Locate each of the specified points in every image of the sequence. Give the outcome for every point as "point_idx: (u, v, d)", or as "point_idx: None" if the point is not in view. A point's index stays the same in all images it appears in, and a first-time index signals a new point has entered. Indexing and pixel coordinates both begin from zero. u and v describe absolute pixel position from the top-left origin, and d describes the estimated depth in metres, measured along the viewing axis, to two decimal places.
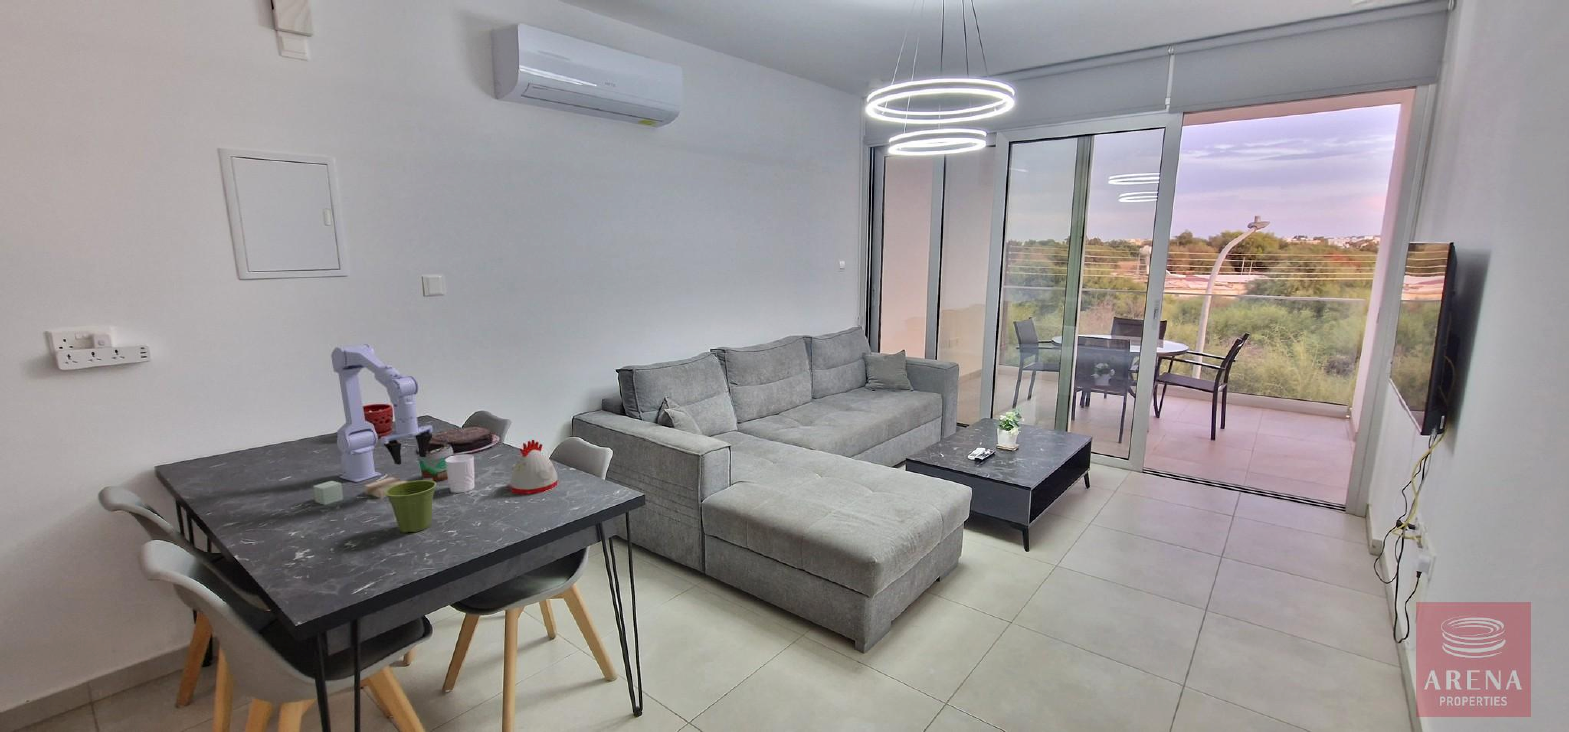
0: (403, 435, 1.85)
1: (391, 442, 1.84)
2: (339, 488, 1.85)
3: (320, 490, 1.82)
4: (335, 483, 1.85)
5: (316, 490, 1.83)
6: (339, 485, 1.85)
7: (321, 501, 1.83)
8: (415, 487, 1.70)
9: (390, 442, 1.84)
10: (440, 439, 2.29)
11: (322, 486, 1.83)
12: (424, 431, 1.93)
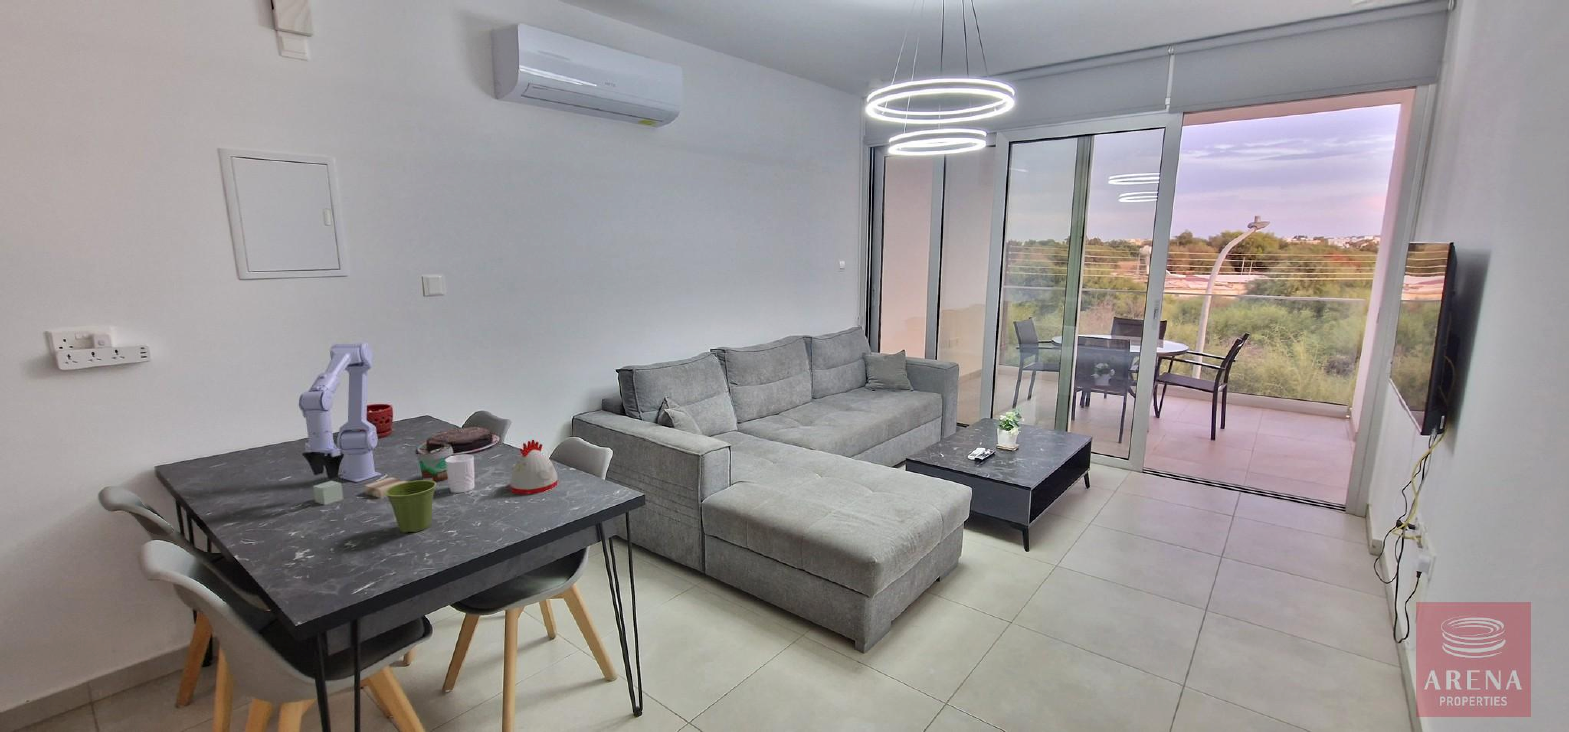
0: (308, 448, 1.81)
1: None
2: (339, 488, 1.85)
3: (320, 490, 1.82)
4: (335, 483, 1.85)
5: (316, 490, 1.83)
6: (339, 485, 1.85)
7: (321, 501, 1.83)
8: (415, 487, 1.70)
9: None
10: (440, 439, 2.29)
11: (322, 486, 1.83)
12: (331, 453, 1.80)
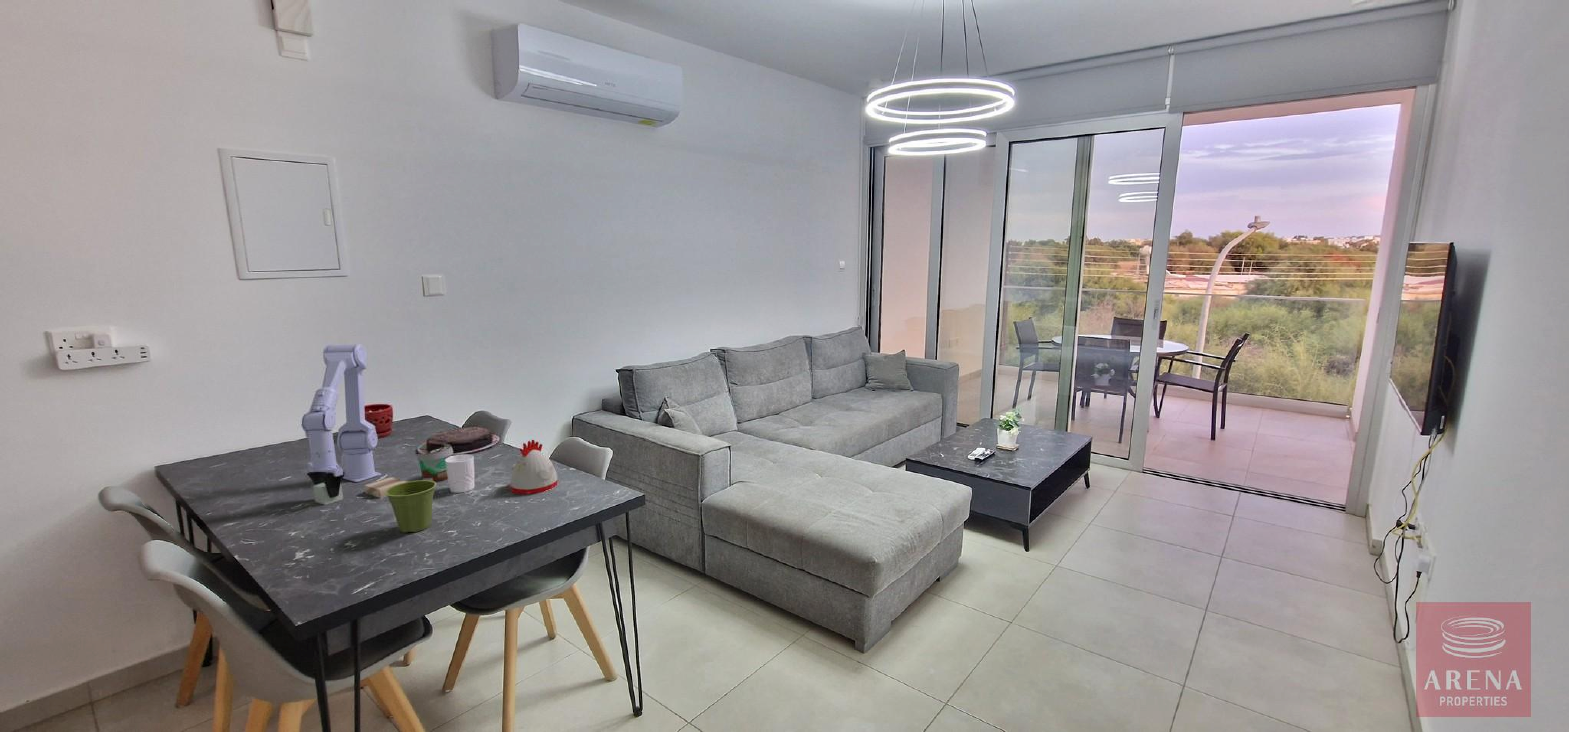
0: (311, 467, 1.83)
1: None
2: None
3: (320, 490, 1.82)
4: None
5: (316, 490, 1.83)
6: None
7: (321, 501, 1.83)
8: (415, 487, 1.70)
9: None
10: (440, 439, 2.29)
11: (322, 486, 1.83)
12: (334, 472, 1.81)
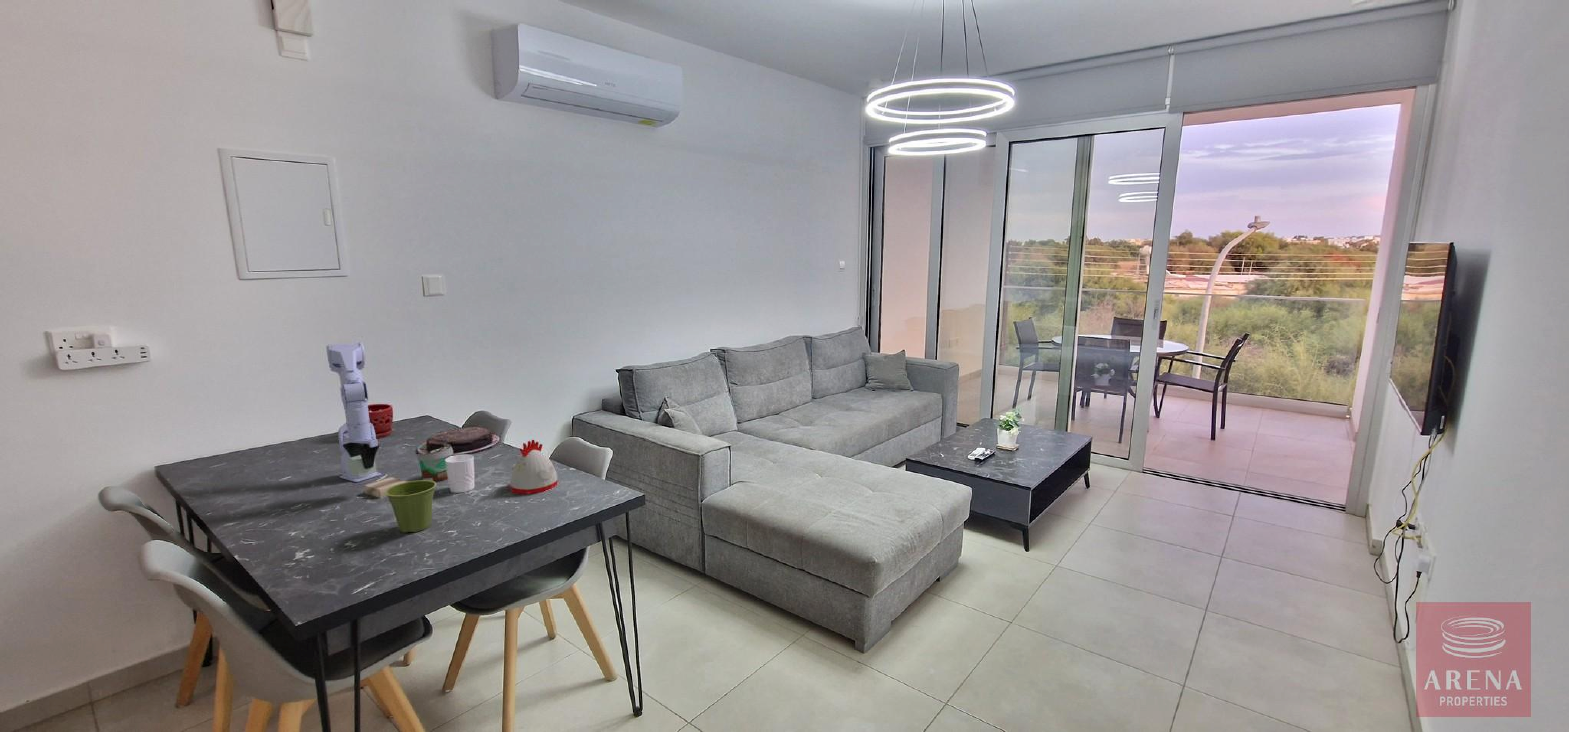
0: (347, 439, 1.86)
1: None
2: None
3: (354, 462, 1.85)
4: None
5: (350, 462, 1.86)
6: None
7: (355, 473, 1.86)
8: (415, 487, 1.70)
9: None
10: (440, 439, 2.29)
11: (356, 458, 1.86)
12: None
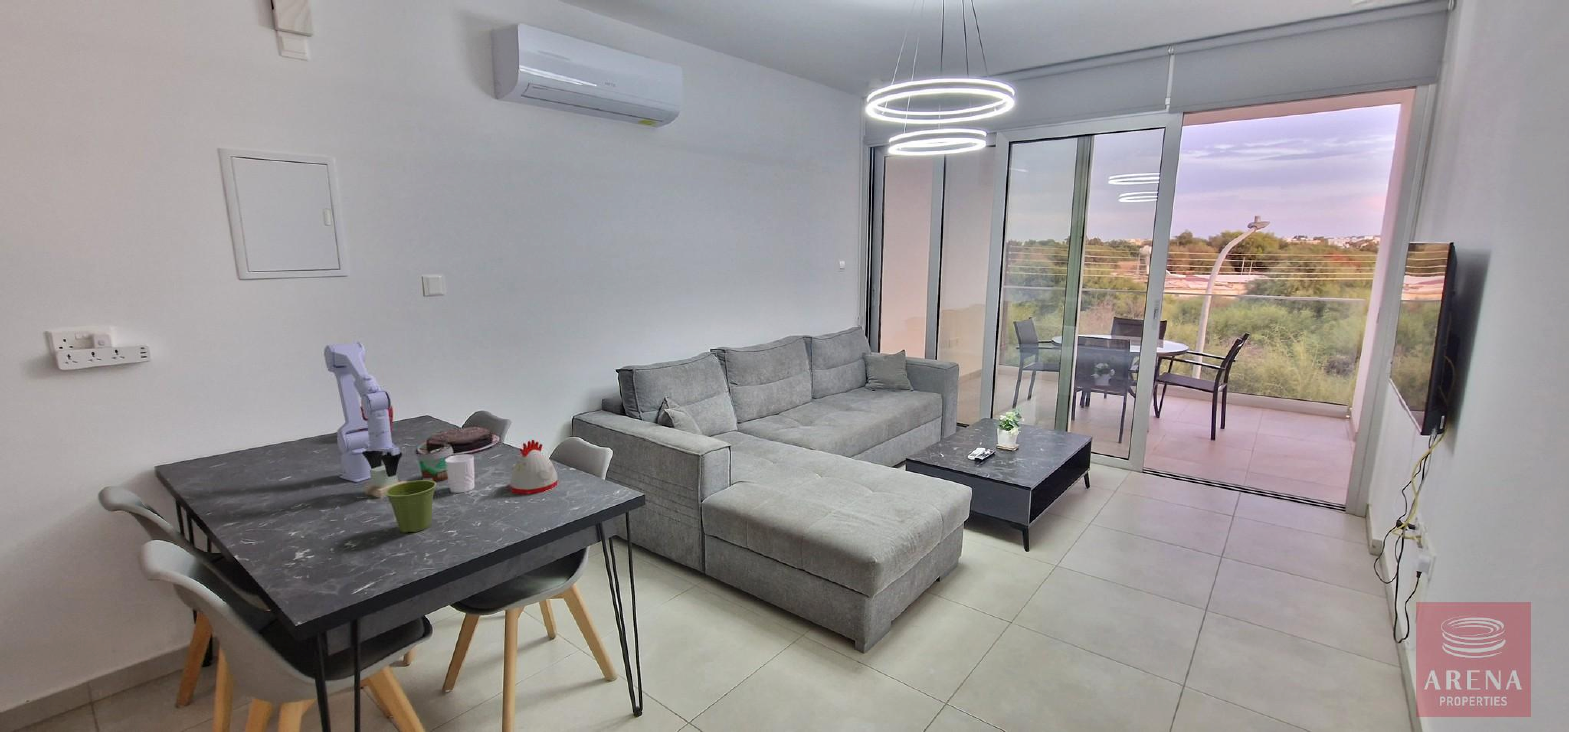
0: (368, 447, 1.89)
1: None
2: None
3: (376, 473, 1.88)
4: None
5: (372, 473, 1.89)
6: None
7: (377, 484, 1.89)
8: (415, 487, 1.70)
9: None
10: (440, 439, 2.29)
11: (378, 469, 1.89)
12: None
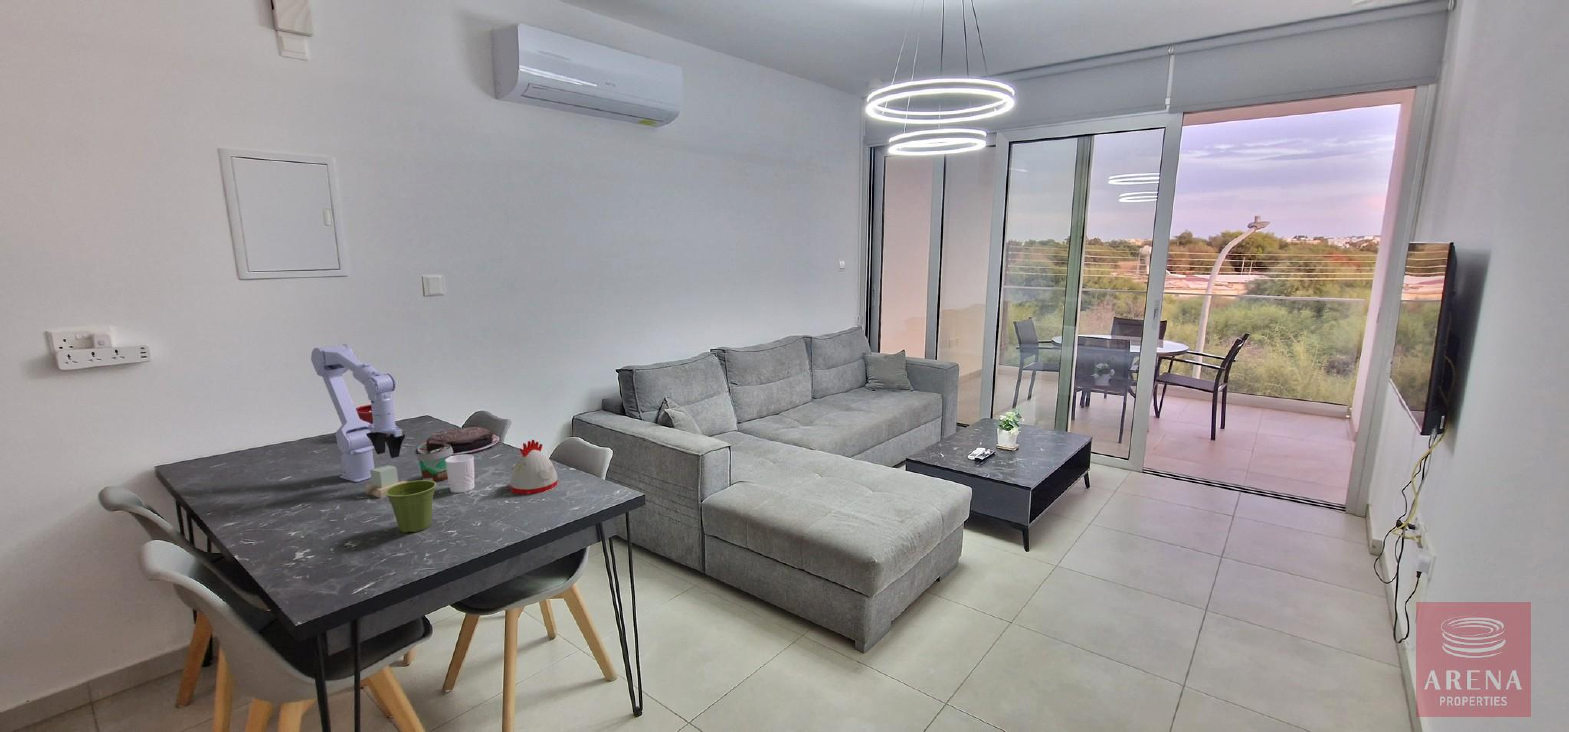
0: (372, 428, 1.93)
1: None
2: (394, 472, 1.91)
3: (377, 473, 1.88)
4: (390, 467, 1.92)
5: (373, 473, 1.89)
6: (394, 469, 1.91)
7: (378, 484, 1.89)
8: (415, 487, 1.70)
9: None
10: (440, 439, 2.29)
11: (379, 469, 1.89)
12: None
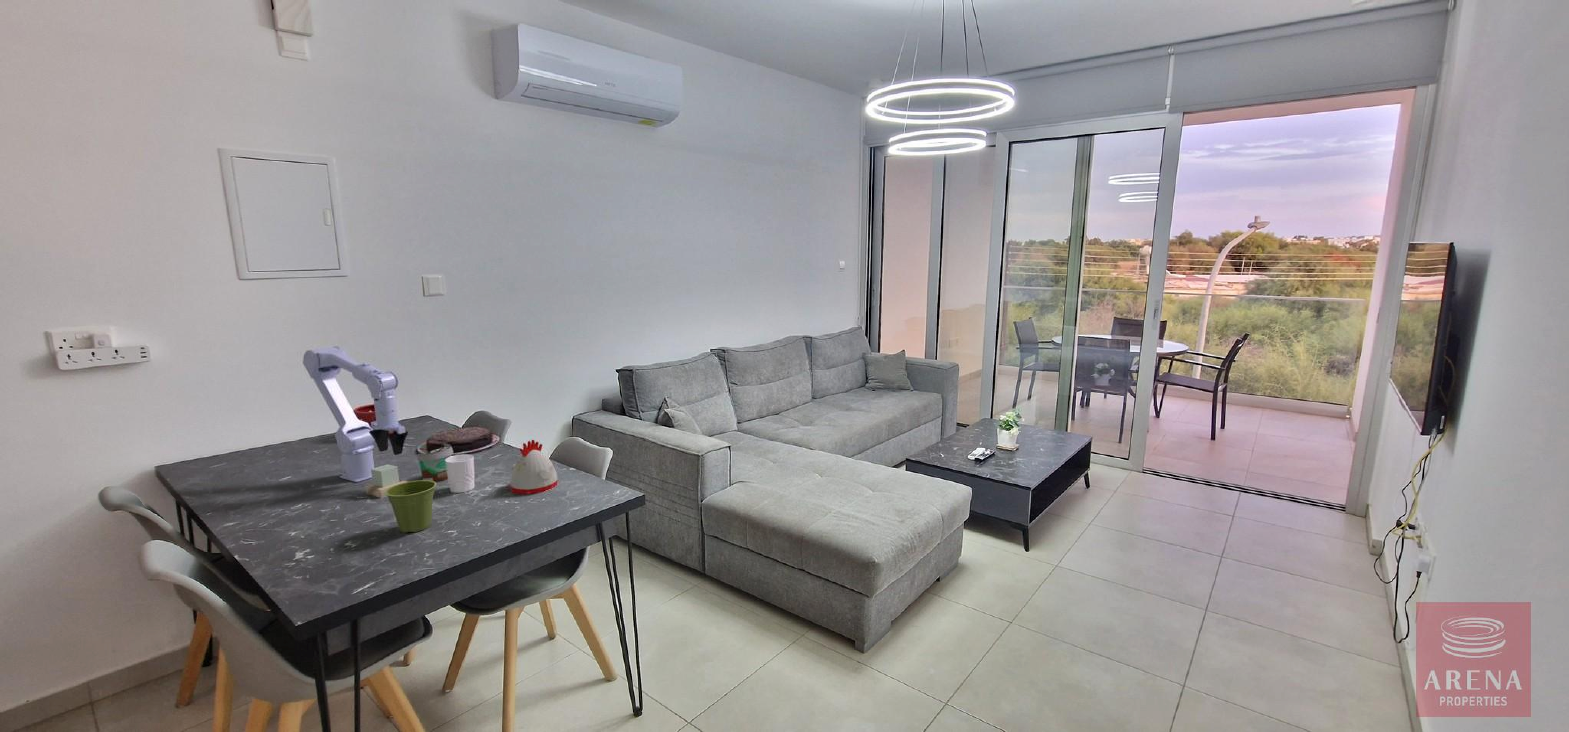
0: (375, 426, 1.96)
1: (375, 428, 1.99)
2: (395, 471, 1.92)
3: (378, 473, 1.88)
4: (391, 466, 1.92)
5: (374, 473, 1.89)
6: (395, 468, 1.92)
7: (379, 483, 1.89)
8: (415, 487, 1.70)
9: (374, 428, 1.99)
10: (440, 439, 2.29)
11: (380, 469, 1.90)
12: None
